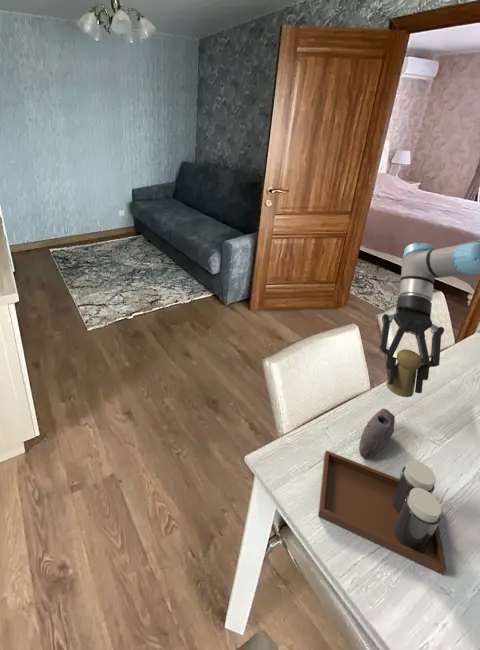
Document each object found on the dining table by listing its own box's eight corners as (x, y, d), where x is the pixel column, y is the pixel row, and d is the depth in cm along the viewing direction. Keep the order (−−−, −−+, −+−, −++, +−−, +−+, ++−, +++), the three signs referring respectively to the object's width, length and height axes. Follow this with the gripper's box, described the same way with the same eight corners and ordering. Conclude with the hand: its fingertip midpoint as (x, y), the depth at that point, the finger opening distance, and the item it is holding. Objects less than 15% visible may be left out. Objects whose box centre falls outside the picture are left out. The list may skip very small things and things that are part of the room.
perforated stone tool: (369, 469, 82) (376, 449, 79) (347, 453, 86) (353, 433, 83) (395, 435, 90) (402, 415, 88) (375, 421, 94) (380, 402, 92)
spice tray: (428, 499, 76) (432, 492, 75) (442, 577, 63) (446, 569, 62) (324, 457, 85) (325, 450, 84) (317, 518, 72) (319, 510, 71)
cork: (387, 376, 92) (398, 342, 88) (414, 386, 89) (426, 352, 85) (384, 389, 88) (395, 355, 84) (412, 401, 85) (425, 365, 80)
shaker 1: (420, 500, 75) (434, 466, 71) (423, 526, 70) (440, 491, 66) (390, 488, 77) (403, 454, 73) (392, 512, 73) (406, 478, 68)
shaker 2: (424, 529, 70) (440, 494, 66) (428, 559, 65) (446, 524, 61) (392, 515, 72) (406, 481, 68) (394, 543, 67) (409, 508, 63)
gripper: (451, 311, 91) (443, 402, 84) (373, 295, 99) (360, 377, 91) (462, 303, 85) (455, 401, 77) (378, 286, 92) (364, 374, 85)
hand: (404, 388), depth 84 cm, fingers closed on cork, 5 cm apart
